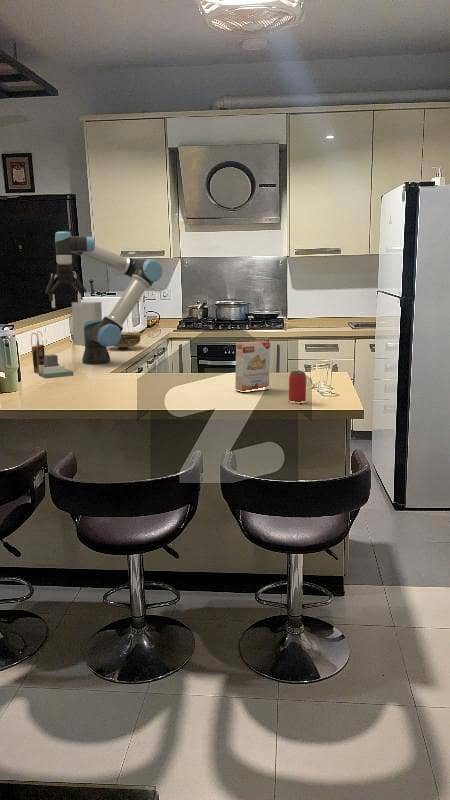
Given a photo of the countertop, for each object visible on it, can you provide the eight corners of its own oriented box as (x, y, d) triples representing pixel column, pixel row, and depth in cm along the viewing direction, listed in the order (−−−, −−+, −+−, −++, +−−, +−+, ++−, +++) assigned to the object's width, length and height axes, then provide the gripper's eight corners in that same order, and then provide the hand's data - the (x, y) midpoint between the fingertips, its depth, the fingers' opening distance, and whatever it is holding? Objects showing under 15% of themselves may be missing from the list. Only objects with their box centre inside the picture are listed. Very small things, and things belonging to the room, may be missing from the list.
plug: (55, 370, 301) (54, 354, 299) (58, 372, 297) (57, 355, 295) (44, 371, 298) (43, 355, 297) (48, 373, 294) (47, 356, 293)
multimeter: (48, 374, 303) (46, 333, 298) (30, 373, 305) (27, 333, 300) (62, 369, 317) (59, 330, 313) (44, 368, 319) (41, 330, 314)
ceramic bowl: (151, 350, 387) (151, 334, 384) (117, 353, 373) (116, 337, 370) (128, 345, 410) (128, 330, 408) (95, 348, 396) (95, 332, 394)
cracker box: (242, 393, 256) (242, 343, 252) (234, 391, 261) (235, 342, 257) (270, 390, 264) (270, 341, 259) (261, 388, 269) (262, 340, 264)
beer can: (287, 400, 243) (287, 370, 241) (303, 400, 244) (304, 370, 241) (290, 404, 237) (291, 373, 234) (307, 404, 237) (308, 373, 235)
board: (66, 372, 307) (66, 362, 306) (73, 375, 300) (72, 365, 298) (39, 375, 299) (38, 365, 298) (44, 378, 292) (44, 367, 291)
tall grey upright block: (80, 347, 401) (78, 303, 395) (73, 344, 414) (71, 302, 408) (108, 345, 411) (106, 302, 405) (100, 342, 423) (99, 301, 417)
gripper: (85, 263, 315) (87, 305, 320) (37, 263, 302) (39, 307, 306) (91, 263, 309) (93, 306, 314) (41, 263, 296) (44, 308, 300)
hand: (66, 307), depth 310 cm, fingers open, 13 cm apart
